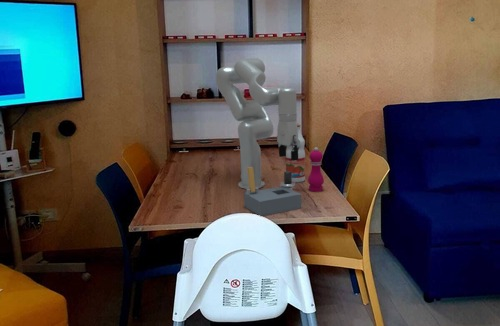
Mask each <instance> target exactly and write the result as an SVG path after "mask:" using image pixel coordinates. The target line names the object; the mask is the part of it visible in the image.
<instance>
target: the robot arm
mask: <svg viewBox="0 0 500 326" xmlns="http://www.w3.org/2000/svg"><path fill="white" fill-rule="evenodd" d="M265 72H266V66H265V63H264V61H263V60H262V59H260V58H258V57H257V58H255V57H253V58H241V59H239V60H237V61H236V62H235V63H234V65H226V66H222V67H220V68H219V69H218V70H217V71H216V73H215V83H216V86H217V88H218V91H219V93H221V95H222V96H223V98H224V99H225V101H226V103H227V106H228V108H229V111H231V114H232V117H233V118H234V119H235V120H236V121H237V122H240V123H239V124H238V126H237V134H238V139H239V148H240V173H241V174H240V177H239V178H241V180H240V181H239V182H238V188H241V189H245V190H246V189H249V182H248V172H247V167H253V171H254V181H255V187H257V188H259V189H260V188H263V187H265V182H264V181H263V180H262V155H261V154H262V151H261V147H260V145H259V143H258V142H257V141H258V140H262V139H263V140H264V139H266V138H267V139H268V138H270V137H272V135H273V134H274V129H275V128H274V124H273V122H272V120H271V118H270V115H269V114H268V111H267V109H266V108H265V107H269V106H277V108H278V109H277V110H278V122H277V133H276V134H277V135H276V139H277V144H278V156H279V157H280V158H281V157H286V150H287V146H290V147H291V149H292V151H291V160H292V161H293V160H298V150H299V147H300V143H301V142H300V140H299V139H298V129H297V124H298V123H297V122H298V118H297V117H298V115H297V114H298V113H297V111H298V109H297V90H296V89H295V88H293V87H284V86H273V87H263V85H264V84H265V82H266V78H267V77H266V74H265ZM236 84H247V85H248V91H249V95H250V97H251V99H250V100H247V99H246V98H245V96H244V94H243V93H242V91H241V90H240V89H239V88H238V87H237V86H235V85H236ZM293 146H294V147H293Z"/></svg>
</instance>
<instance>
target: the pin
mask: <svg viewBox="0 0 500 326" xmlns="http://www.w3.org/2000/svg"><path fill="white" fill-rule="evenodd" d="M283 178H284V179H283V180H284V181H281V182H280V187H284V188H289V189H291V190H293V189H294V187H296V182H292V172H290V171H286V170H285V171H284V172H283ZM293 191H294V190H293Z"/></svg>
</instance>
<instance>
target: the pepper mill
mask: <svg viewBox="0 0 500 326" xmlns="http://www.w3.org/2000/svg"><path fill="white" fill-rule="evenodd" d="M308 157H309V159H310V162H309V163H310V166H311V170H310V173H309V174H308V175H309V176H308V179H307V183H308V184H309V185H308V191H310V192H315V193H319V192H322V191H323V189H324V186H323V185H324V181H325V180H324V176H323V174H322V171H321V165H322V160H323V157H324V156H323V152H321V151H320V150H319V148H318V147H314V148H313V150H312V151H311V152H309V156H308Z"/></svg>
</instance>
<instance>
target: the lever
mask: <svg viewBox="0 0 500 326" xmlns="http://www.w3.org/2000/svg"><path fill="white" fill-rule="evenodd" d="M247 172H248V182H249V189H250V193H255V192H256V190H255V181H254V171H253V167H247Z"/></svg>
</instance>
